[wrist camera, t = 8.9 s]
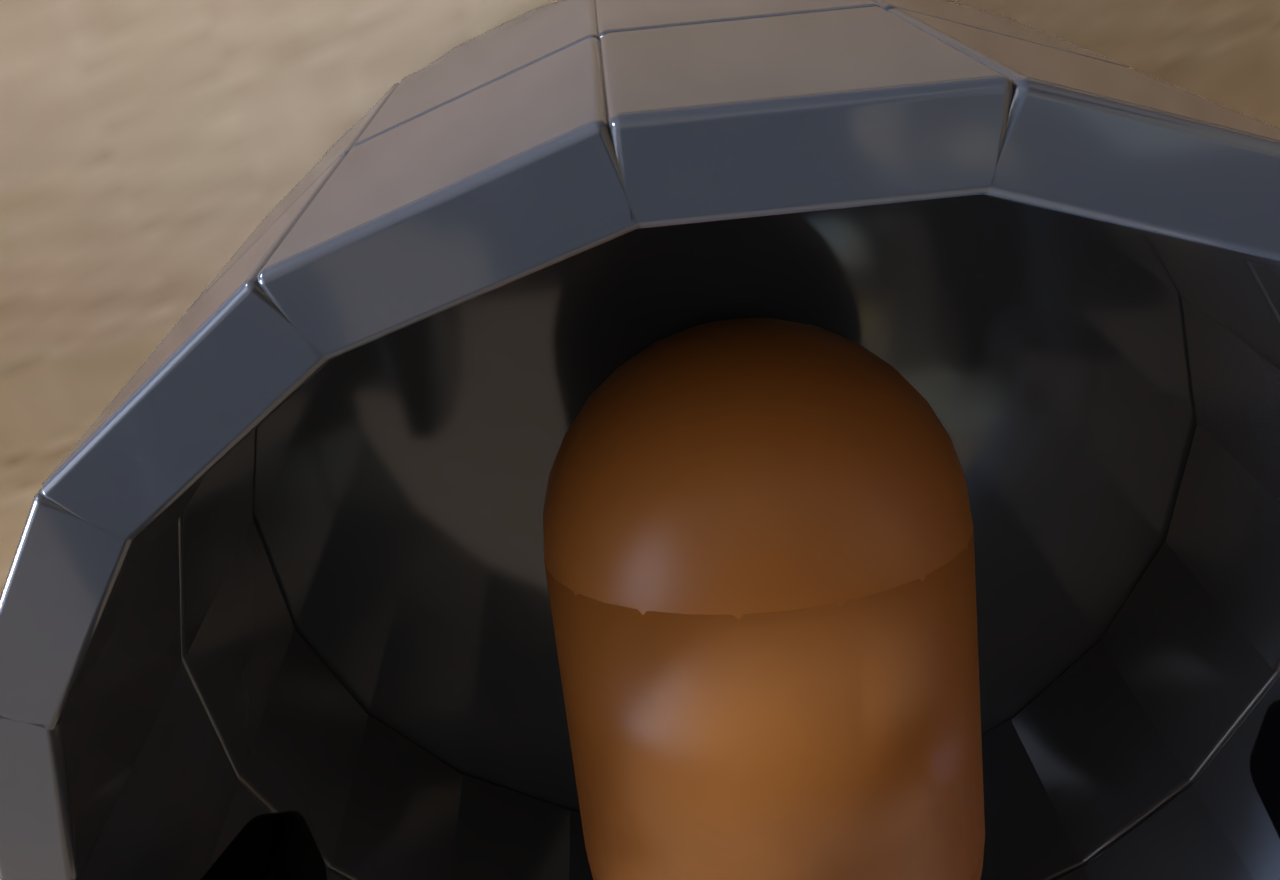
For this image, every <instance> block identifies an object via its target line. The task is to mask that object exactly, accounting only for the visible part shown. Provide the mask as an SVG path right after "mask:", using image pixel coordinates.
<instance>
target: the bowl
mask: <svg viewBox="0 0 1280 880" xmlns="http://www.w3.org/2000/svg"><path fill="white" fill-rule="evenodd" d="M743 318H775V319H781V320H786V321H792V322H798V323H803V324H809V325H814V326H817V327H820V328H822V329H825V330H827V331H830V332H832V333H835V334H837V335H840V336H842V337H845V338H847V339H850V340H852V341H855V342H857V343H858V344H860V345H861V346H863V347H864V348H866V349H867V350H869V351H870V352H872V353H873V354H875V355H876V356H878V357H879V358H881V359H882V360H884V361H885V362H887V363H888V364H890V365H891V366H893V367H894V368H895V369H896V370H897V371H898V372H899V373H900V374H901V375H902V376H903V377H904V378H905V379H906V380H907V381H908V382H909V383H910V384H911V385H912V386H913V387H914V388H915V389H916V390H917V391H918V392H919V393H920V394H921V395H922V396H923V397H924V398H925V399H926V400H927V401H928V403H929V405H930V406H931V408H932V409H933V411H934V412H935V414H936V415H937V417H938V419H939V420H940V422H941V423H942V425H943V426H944V428H945V429H946V431H947V433H948V434H949V436H950V438H951V440H952V443H953V446H954V448H955V451H956V454H957V456H958V459H959V462H960V464H961V467H962V469H963V472H964V475H965V479H966V484H967V489H968V495H969V502H970V509H971V516H972V520H973V528H974V552H975V578H976V605H977V631H978V657H979V684H980V710H981V737H982V763H983V790H984V816H985V844H984V856H983V868H982V874H981V879H980V880H1280V839H1279V837H1278V834H1277V832H1276V830H1275V828H1274V826H1273V824H1272V822H1271V820H1270V818H1269V816H1268V813H1267V811H1266V809H1265V807H1264V805H1263V803H1262V801H1261V799H1260V797H1259V795H1258V793H1257V790H1256V788H1255V786H1254V784H1253V781H1252V777H1251V774H1250V767H1249V761H1250V754H1251V751H1252V749H1253V746H1254V743H1255V740H1256V738H1257V735H1258V732H1259V729H1260V727H1261V724H1262V721H1263V718H1264V715H1265V713H1266V710H1267V708H1268V706H1269V705H1270V704H1272V703H1273V702H1274V701H1276V700H1280V129H1279V128H1277V127H1274V126H1272V125H1269V124H1267V123H1265V122H1262V121H1260V120H1257V119H1255V118H1252V117H1250V116H1247V115H1245V114H1243V113H1240V112H1238V111H1235V110H1233V109H1230V108H1228V107H1226V106H1223V105H1221V104H1218V103H1216V102H1213V101H1211V100H1209V99H1206V98H1204V97H1201V96H1199V95H1196V94H1194V93H1191V92H1189V91H1187V90H1184V89H1182V88H1179V87H1177V86H1174V85H1172V84H1170V83H1167V82H1165V81H1162V80H1160V79H1157V78H1155V77H1152V76H1150V75H1148V74H1145V73H1143V72H1140V71H1138V70H1135V69H1132V68H1130V67H1129V66H1126V65H1124V64H1122V63H1119V62H1117V61H1114V60H1112V59H1109V58H1107V57H1104V56H1102V55H1100V54H1097V53H1095V52H1092V51H1090V50H1087V49H1085V48H1083V47H1080V46H1078V45H1075V44H1073V43H1070V42H1068V41H1065V40H1063V39H1061V38H1058V37H1056V36H1053V35H1051V34H1048V33H1046V32H1044V31H1041V30H1039V29H1036V28H1034V27H1031V26H1029V25H1026V24H1024V23H1022V22H1019V21H1017V20H1014V19H1012V18H1009V17H1006V16H1002V15H998V14H994V13H991V12H987V11H983V10H979V9H975V8H972V7H968V6H964V5H960V4H956V3H953V2H949V1H947V0H561V1H558V2H555V3H551V4H548V5H545V6H542V7H539V8H536V9H533V10H530V11H528V12H526V13H524V14H522V15H520V16H518V17H516V18H514V19H512V20H510V21H508V22H506V23H504V24H501V25H499V26H497V27H495V28H493V29H491V30H489V31H487V32H485V33H483V34H481V35H479V36H477V37H475V38H473V39H471V40H469V41H467V42H465V43H463V44H461V45H459V46H457V47H455V48H453V49H452V50H450V51H449V52H447V53H446V54H445V55H443V56H442V57H440V58H439V59H437V60H436V61H434V62H433V63H432V64H430V65H429V66H427V67H425V68H423V69H421V70H419V71H417V72H415V73H413V74H411V75H409V76H406V77H404V78H403V79H402V81H401V82H400V83H397V84H394V85H393V86H392V87H391V88H390V89H389V90H388V91H387V92H386V93H385V94H384V96H383V97H382V98H381V99H380V100H379V101H378V102H377V103H376V104H375V105H374V106H373V107H372V108H371V109H370V110H369V111H368V112H367V113H366V114H365V115H364V116H363V117H362V118H361V119H360V120H359V121H358V122H357V123H356V124H355V125H354V126H353V127H352V128H351V129H350V130H348V131H347V132H346V133H345V134H344V135H343V136H342V137H341V138H340V139H339V140H338V141H337V142H336V143H335V144H334V145H332V146H331V148H330V149H329V150H328V151H327V153H326V154H325V155H324V156H323V157H322V159H321V160H320V161H319V162H318V163H317V164H316V165H315V166H314V167H313V168H312V169H311V170H310V171H309V172H308V173H307V175H306V176H305V177H304V178H303V179H302V180H301V181H300V182H299V183H298V184H297V185H296V186H295V187H294V188H293V189H292V190H291V191H290V192H289V193H288V194H287V195H286V196H285V197H284V198H283V199H282V200H281V201H280V202H279V203H278V204H277V205H276V206H275V207H274V208H273V209H272V210H271V211H270V212H269V213H268V215H267V216H266V217H265V218H264V219H263V220H262V222H261V223H260V224H259V225H258V226H257V228H256V229H255V230H254V231H253V232H252V234H251V235H250V236H249V237H248V238H247V240H246V241H245V242H244V243H243V244H242V246H241V247H240V248H239V249H238V250H237V252H236V253H235V254H234V255H233V256H232V258H231V259H230V260H229V261H228V262H227V264H226V265H225V266H224V267H223V268H222V270H221V271H220V272H219V273H218V274H217V276H216V277H215V278H214V279H213V280H212V282H211V283H210V284H209V285H208V286H207V287H206V289H205V290H204V291H203V292H202V293H201V295H200V296H199V297H198V298H197V299H196V301H195V302H194V303H193V304H192V305H191V307H190V308H189V309H188V310H187V312H186V313H185V314H184V315H183V316H182V317H181V319H180V320H179V321H178V322H177V323H176V325H175V326H174V327H173V328H172V329H171V331H170V332H169V333H168V334H167V335H166V337H165V338H164V339H163V340H162V341H161V343H160V344H159V345H158V346H157V347H156V349H155V350H154V351H153V352H152V353H151V355H150V356H149V357H148V358H147V359H146V361H145V362H144V363H143V364H142V365H141V367H140V368H139V369H138V370H137V371H136V373H135V374H134V375H133V376H132V377H131V379H130V380H129V381H128V382H127V383H126V385H125V386H124V387H123V388H122V389H121V391H120V392H119V393H118V394H117V395H116V397H115V398H114V399H113V400H112V401H111V402H110V404H109V405H108V406H107V407H106V408H105V410H104V411H103V412H102V413H101V414H100V416H99V417H98V418H97V419H96V420H95V422H94V423H93V424H92V425H91V426H90V428H89V429H88V430H87V431H86V432H85V434H84V435H83V436H82V437H81V438H80V440H79V441H78V442H77V443H76V444H75V446H74V447H73V448H72V449H71V450H70V452H69V453H68V454H67V455H66V456H65V458H64V459H63V460H62V461H61V462H60V464H59V465H58V466H57V467H56V468H55V470H54V471H53V472H52V473H51V474H50V476H49V477H48V478H47V479H46V480H45V482H44V483H43V485H42V488H41V489H40V490H39V491H38V493H37V494H36V495H35V496H34V499H33V502H32V505H31V508H30V511H29V514H28V517H27V520H26V523H25V526H24V529H23V532H22V535H21V537H20V540H19V543H18V546H17V549H16V552H15V555H14V558H13V561H12V564H11V567H10V570H9V573H8V576H7V579H6V582H5V585H4V588H3V591H2V593H1V596H0V879H1V880H200V879H201V878H202V877H203V876H204V874H205V873H206V872H207V871H208V870H209V868H210V867H211V866H212V865H213V864H214V862H215V861H216V860H217V859H218V857H219V856H220V855H221V854H222V853H223V851H224V850H225V849H226V848H227V847H228V845H229V844H230V843H231V842H232V840H233V839H234V838H235V837H236V836H237V834H238V833H239V832H240V831H241V829H242V828H243V827H244V826H245V825H246V824H247V823H248V822H249V821H250V820H251V819H252V818H254V817H255V816H257V815H261V814H265V813H274V812H283V811H297V812H299V813H300V814H302V815H303V817H304V819H305V820H306V822H307V825H308V827H309V829H310V831H311V833H312V835H313V837H314V840H315V842H316V844H317V846H318V848H319V850H320V853H321V855H322V857H323V859H324V862H325V866H326V871H327V880H593V877H592V873H591V869H590V865H589V861H588V858H587V852H586V849H585V842H584V835H583V828H582V821H581V814H580V807H579V800H578V793H577V786H576V779H575V772H574V765H573V758H572V751H571V744H570V737H569V730H568V723H567V716H566V710H565V703H564V696H563V689H562V682H561V675H560V668H559V661H558V654H557V647H556V640H555V633H554V626H553V619H552V612H551V605H550V598H549V591H548V584H547V577H546V570H545V564H544V530H543V510H544V504H545V498H546V492H547V486H548V480H549V474H550V471H551V469H552V466H553V464H554V461H555V458H556V456H557V453H558V451H559V448H560V446H561V443H562V440H563V438H564V435H565V434H566V432H567V431H568V429H569V428H570V426H571V425H572V423H573V421H574V420H575V418H576V417H577V415H578V414H579V412H580V411H581V409H582V407H583V406H584V404H585V403H586V401H587V400H588V398H589V397H590V395H591V394H592V393H593V392H594V391H595V390H596V389H597V388H598V387H599V386H600V385H601V384H602V383H603V382H604V381H605V380H606V379H607V378H608V377H609V376H610V375H611V374H612V373H613V372H614V371H615V370H616V369H617V368H618V367H619V366H620V365H622V364H623V363H625V362H626V361H628V360H629V359H631V358H632V357H634V356H635V355H637V354H638V353H640V352H641V351H643V350H644V349H646V348H647V347H649V346H650V345H652V344H653V343H655V342H657V341H659V340H662V339H664V338H667V337H669V336H671V335H674V334H676V333H679V332H681V331H684V330H686V329H689V328H691V327H694V326H697V325H701V324H705V323H710V322H717V321H724V320H732V319H743Z"/></svg>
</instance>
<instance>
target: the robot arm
mask: <svg viewBox="0 0 1280 880" xmlns="http://www.w3.org/2000/svg"><path fill="white" fill-rule="evenodd" d="M1249 767H1250V774H1251V777H1252V781H1253V784H1254V786H1255V788H1256V790H1257V793H1258V795H1259V797H1260V799H1261V801H1262V803H1263V805H1264V807H1265V809H1266V811H1267V813H1268V816H1269V818H1270V820H1271V822H1272V824H1273V826H1274V828H1275V830H1276V832H1277V834H1278V837H1279V839H1280V700H1276V701H1274V702H1273V703H1272V704H1270V705H1269V706H1268V708H1267V710H1266V713H1265V715H1264V718H1263V721H1262V724H1261V727H1260V729H1259V732H1258V735H1257V738H1256V740H1255V743H1254V746H1253V749H1252V751H1251V754H1250V761H1249ZM200 880H327V871H326V866H325V862H324V859H323V857H322V855H321V853H320V850H319V848H318V846H317V844H316V842H315V840H314V837H313V835H312V833H311V831H310V829H309V827H308V825H307V822H306V820H305V819H304V817H303V815H302V814H300V813H299V812H297V811H283V812H274V813H265V814H261V815H257V816H255V817H254V818H252V819H251V820H250V821H249V822H248V823H247V824H246V825H245V826H244V827H243V828H242V829H241V831H240V832H239V833H238V834H237V836H236V837H235V838H234V839H233V840H232V842H231V843H230V844H229V845H228V847H227V848H226V849H225V850H224V851H223V853H222V854H221V855H220V856H219V857H218V859H217V860H216V861H215V862H214V864H213V865H212V866H211V867H210V868H209V870H208V871H207V872H206V873H205V874H204V876H203V877H202V878H201V879H200Z"/></svg>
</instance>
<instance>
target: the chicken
mask: <svg viewBox="0 0 1280 880" xmlns="http://www.w3.org/2000/svg"><path fill="white" fill-rule="evenodd" d="M543 530H544V564H545V570H546V577H547V584H548V591H549V598H550V605H551V612H552V619H553V626H554V633H555V640H556V647H557V654H558V661H559V668H560V675H561V682H562V689H563V696H564V703H565V710H566V716H567V723H568V730H569V737H570V744H571V751H572V758H573V765H574V772H575V779H576V786H577V793H578V800H579V807H580V814H581V821H582V828H583V835H584V842H585V849H586V852H587V858H588V861H589V865H590V869H591V873H592V877H593V880H980V879H981V874H982V868H983V856H984V844H985V816H984V790H983V763H982V737H981V710H980V684H979V657H978V631H977V605H976V578H975V552H974V528H973V520H972V516H971V509H970V502H969V495H968V489H967V484H966V479H965V475H964V472H963V469H962V467H961V464H960V462H959V459H958V456H957V454H956V451H955V448H954V446H953V443H952V440H951V438H950V436H949V434H948V433H947V431H946V429H945V428H944V426H943V425H942V423H941V422H940V420H939V419H938V417H937V415H936V414H935V412H934V411H933V409H932V408H931V406H930V405H929V403H928V401H927V400H926V399H925V398H924V397H923V396H922V395H921V394H920V393H919V392H918V391H917V390H916V389H915V388H914V387H913V386H912V385H911V384H910V383H909V382H908V381H907V380H906V379H905V378H904V377H903V376H902V375H901V374H900V373H899V372H898V371H897V370H896V369H895V368H894V367H893V366H891V365H890V364H888V363H887V362H885V361H884V360H882V359H881V358H879V357H878V356H876V355H875V354H873V353H872V352H870V351H869V350H867V349H866V348H864V347H863V346H861V345H860V344H858V343H857V342H855V341H852V340H850V339H847V338H845V337H842V336H840V335H837V334H835V333H832V332H830V331H827V330H825V329H822V328H820V327H817V326H814V325H809V324H803V323H798V322H792V321H786V320H781V319H775V318H743V319H732V320H724V321H717V322H710V323H705V324H701V325H697V326H694V327H691V328H689V329H686V330H684V331H681V332H679V333H676V334H674V335H671V336H669V337H667V338H664V339H662V340H659V341H657V342H655V343H653V344H652V345H650V346H649V347H647V348H646V349H644V350H643V351H641V352H640V353H638V354H637V355H635V356H634V357H632V358H631V359H629V360H628V361H626V362H625V363H623V364H622V365H620V366H619V367H618V368H617V369H616V370H615V371H614V372H613V373H612V374H611V375H610V376H609V377H608V378H607V379H606V380H605V381H604V382H603V383H602V384H601V385H600V386H599V387H598V388H597V389H596V390H595V391H594V392H593V393H592V394H591V395H590V397H589V398H588V400H587V401H586V403H585V404H584V406H583V407H582V409H581V411H580V412H579V414H578V415H577V417H576V418H575V420H574V421H573V423H572V425H571V426H570V428H569V429H568V431H567V432H566V434H565V435H564V438H563V440H562V443H561V446H560V448H559V451H558V453H557V456H556V458H555V461H554V464H553V466H552V469H551V471H550V474H549V480H548V486H547V492H546V498H545V504H544V510H543Z"/></svg>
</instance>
